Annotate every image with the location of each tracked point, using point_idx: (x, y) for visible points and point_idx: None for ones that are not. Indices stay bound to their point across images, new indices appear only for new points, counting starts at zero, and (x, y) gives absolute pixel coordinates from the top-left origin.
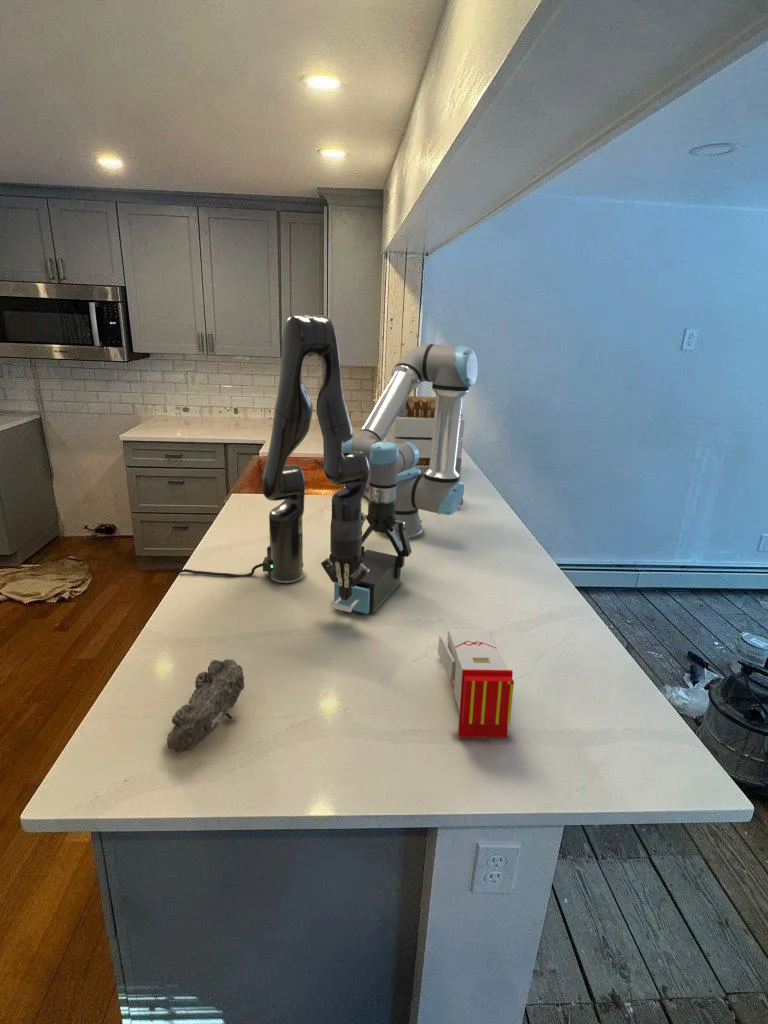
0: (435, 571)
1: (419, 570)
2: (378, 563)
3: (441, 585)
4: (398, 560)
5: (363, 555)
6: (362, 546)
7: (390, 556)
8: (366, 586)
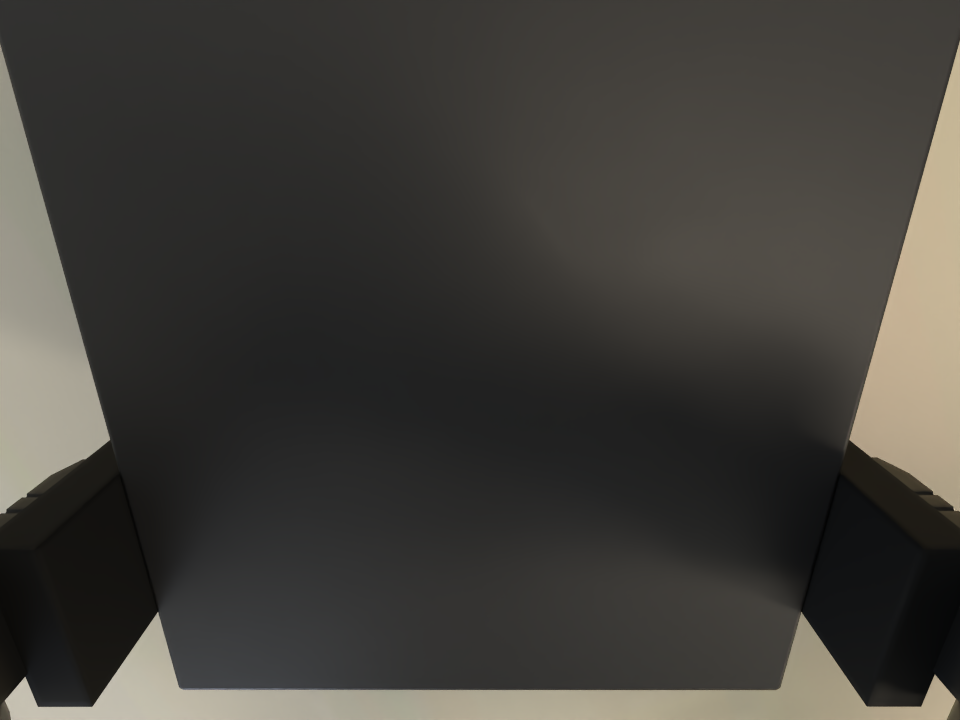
0: (180, 716)
1: None
2: (372, 297)
3: None
4: (35, 520)
5: (778, 486)
6: (909, 694)
7: (326, 635)
8: None
